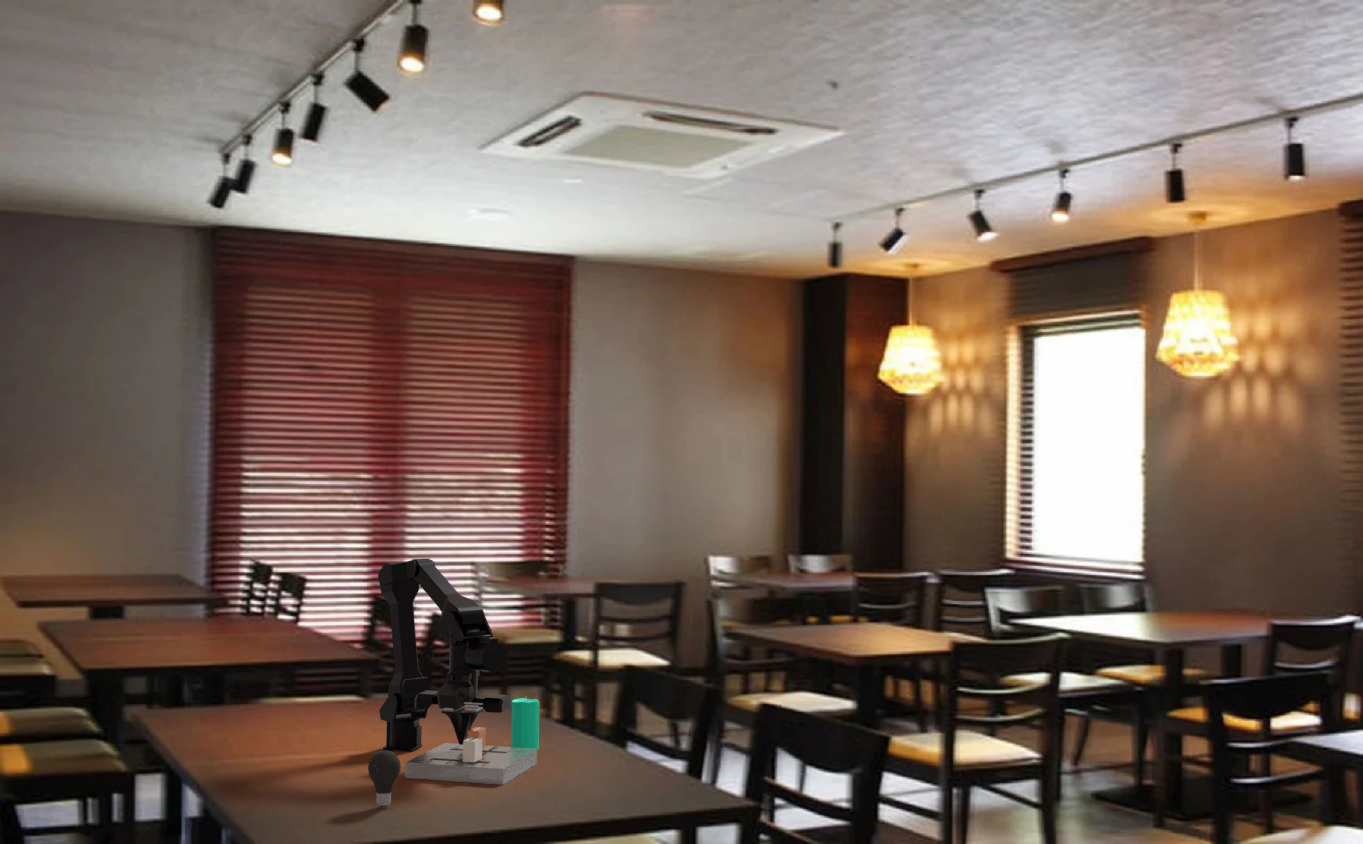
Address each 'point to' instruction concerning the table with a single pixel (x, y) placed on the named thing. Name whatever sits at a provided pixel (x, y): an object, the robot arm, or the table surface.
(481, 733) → the fader orange
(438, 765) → the grey slider board
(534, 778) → the table surface
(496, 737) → the table surface
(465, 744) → the fader cream
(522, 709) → the candle
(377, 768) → the light bulb
